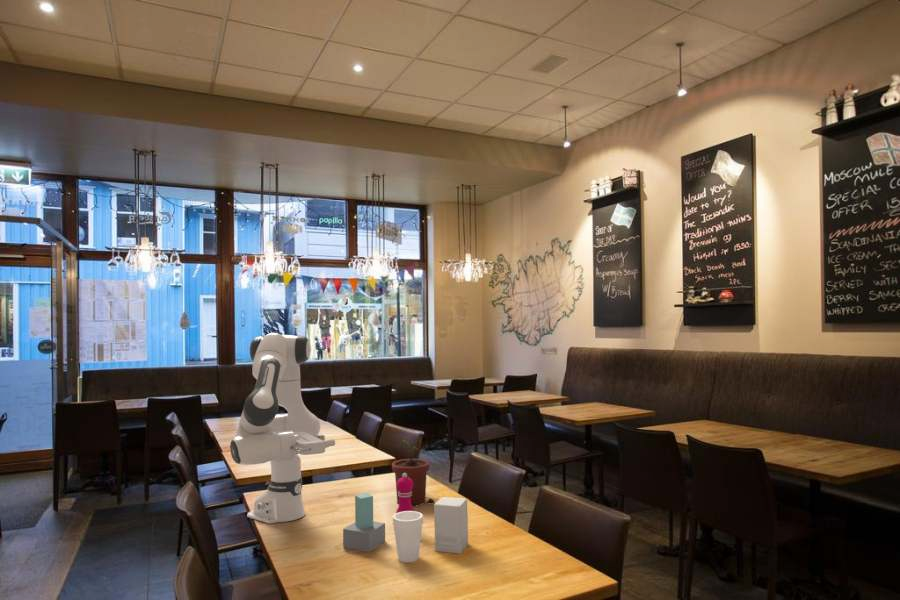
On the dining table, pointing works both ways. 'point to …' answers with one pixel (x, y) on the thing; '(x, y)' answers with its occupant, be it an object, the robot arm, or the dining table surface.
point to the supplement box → (451, 524)
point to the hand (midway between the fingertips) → (329, 440)
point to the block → (364, 510)
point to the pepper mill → (404, 493)
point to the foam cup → (408, 534)
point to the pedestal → (364, 537)
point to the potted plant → (413, 476)
